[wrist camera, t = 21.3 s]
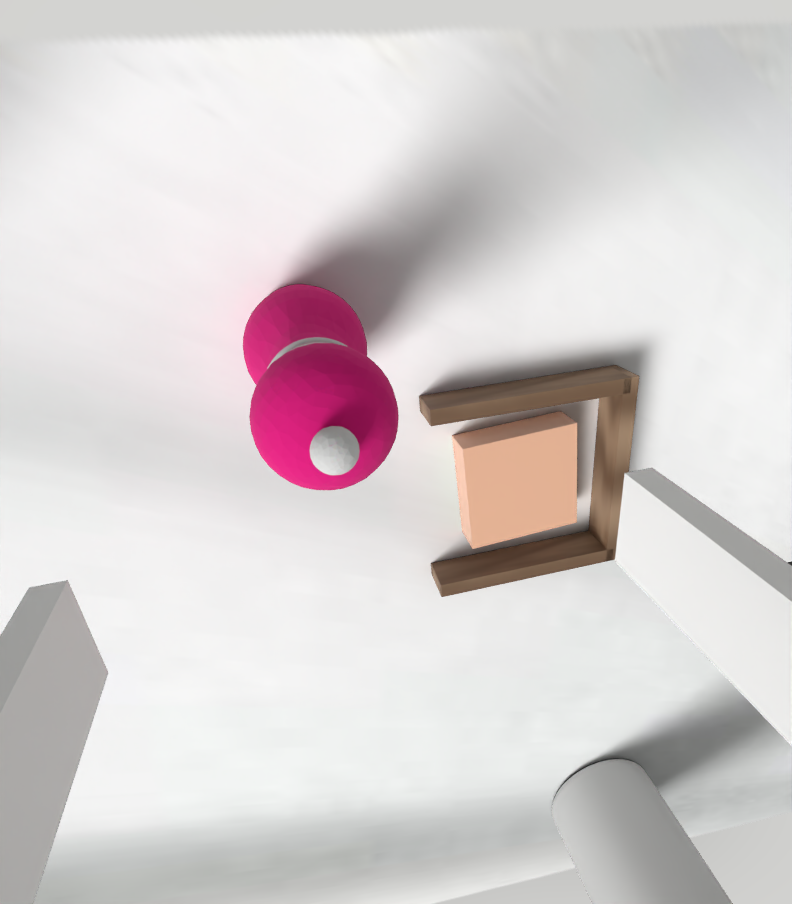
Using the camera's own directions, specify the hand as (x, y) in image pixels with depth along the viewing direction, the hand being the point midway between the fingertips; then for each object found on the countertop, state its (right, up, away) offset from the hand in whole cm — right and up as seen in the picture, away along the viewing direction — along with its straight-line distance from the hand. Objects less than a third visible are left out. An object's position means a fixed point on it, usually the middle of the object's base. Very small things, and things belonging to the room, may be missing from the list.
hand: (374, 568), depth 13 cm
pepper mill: (-6, +11, +23) cm, 27 cm away
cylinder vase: (+25, -38, +54) cm, 71 cm away
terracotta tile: (+10, +1, +32) cm, 33 cm away
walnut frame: (+10, +1, +32) cm, 33 cm away
